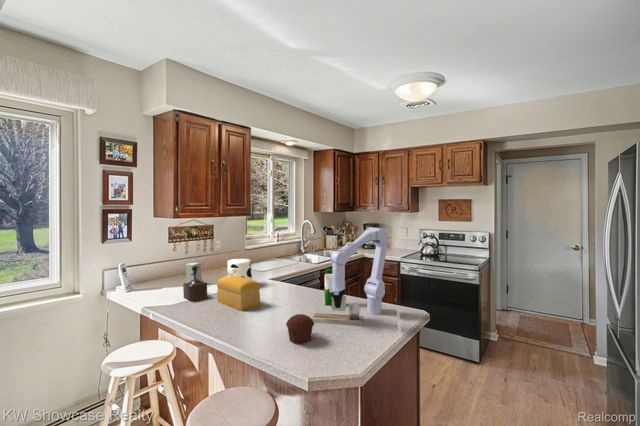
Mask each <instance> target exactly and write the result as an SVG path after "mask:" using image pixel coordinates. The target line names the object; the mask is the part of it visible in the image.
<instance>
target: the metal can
mask: <svg viewBox="0 0 640 426" xmlns="http://www.w3.org/2000/svg"><path fill="white" fill-rule="evenodd" d="M360 308H361V307H360V304H359V303H356V302H352V303H349V304H348V315H349V320H360V316H361V315H360V314H361V312H360V310H361V309H360Z"/></svg>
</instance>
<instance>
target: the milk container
mask: <svg viewBox="0 0 640 426" xmlns="http://www.w3.org/2000/svg"><path fill="white" fill-rule="evenodd" d="M251 261H252V260H251V259H249V258H234V259H229V260H227V270H226V271H227V275H226V276H229V275H235V276H239V277H243V278H247V279H251V280H254V279H253V275H252V262H251Z"/></svg>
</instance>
